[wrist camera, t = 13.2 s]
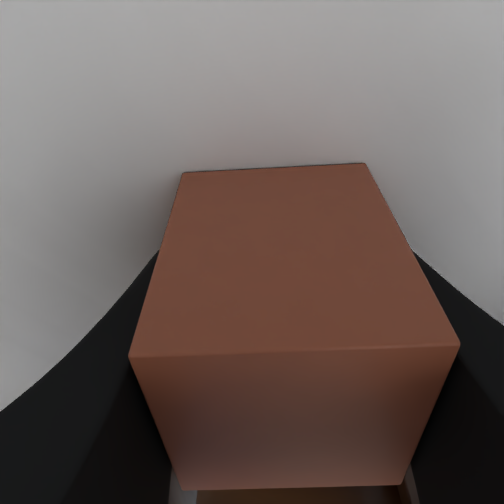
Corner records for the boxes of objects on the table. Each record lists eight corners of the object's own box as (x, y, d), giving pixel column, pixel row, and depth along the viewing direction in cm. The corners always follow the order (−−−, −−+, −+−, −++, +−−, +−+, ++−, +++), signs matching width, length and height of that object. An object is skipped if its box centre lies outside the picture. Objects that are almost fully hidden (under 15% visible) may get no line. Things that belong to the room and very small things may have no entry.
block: (205, 301, 12) (181, 491, 8) (182, 172, 10) (125, 356, 5) (348, 295, 12) (401, 486, 8) (366, 162, 9) (462, 343, 5)
